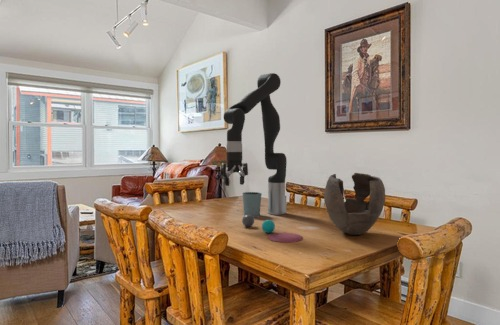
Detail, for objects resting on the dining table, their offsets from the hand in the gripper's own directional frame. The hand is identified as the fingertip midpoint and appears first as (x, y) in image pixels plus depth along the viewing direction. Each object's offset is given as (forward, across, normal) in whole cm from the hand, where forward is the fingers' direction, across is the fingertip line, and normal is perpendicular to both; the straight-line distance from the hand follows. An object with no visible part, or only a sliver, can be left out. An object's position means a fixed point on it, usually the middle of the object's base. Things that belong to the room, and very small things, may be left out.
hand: (234, 185), depth 161 cm
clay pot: (+18, +26, -48) cm, 58 cm away
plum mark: (+18, 0, -34) cm, 39 cm away
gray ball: (+15, 0, -10) cm, 19 cm away
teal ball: (+15, 0, -24) cm, 29 cm away
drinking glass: (+19, +18, +10) cm, 28 cm away
